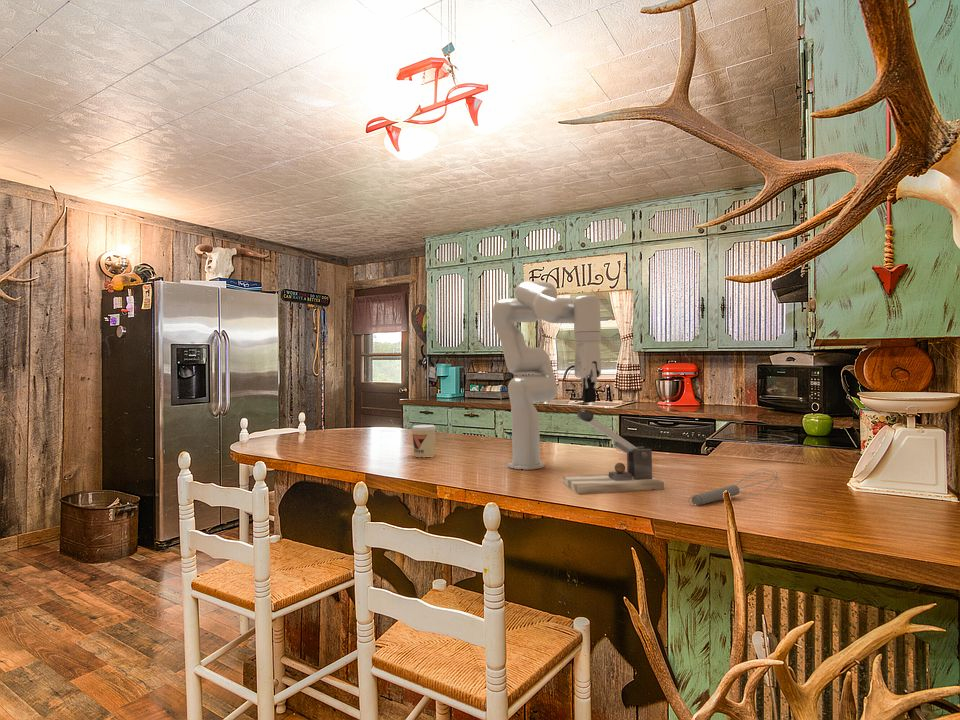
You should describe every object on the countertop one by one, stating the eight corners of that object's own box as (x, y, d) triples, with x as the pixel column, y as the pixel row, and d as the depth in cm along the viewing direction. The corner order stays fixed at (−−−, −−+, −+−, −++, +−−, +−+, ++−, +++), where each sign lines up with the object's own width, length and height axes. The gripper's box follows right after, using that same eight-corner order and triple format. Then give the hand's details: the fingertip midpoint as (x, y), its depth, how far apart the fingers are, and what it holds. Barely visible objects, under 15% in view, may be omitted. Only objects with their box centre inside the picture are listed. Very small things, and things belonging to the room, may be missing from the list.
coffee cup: (407, 457, 213) (406, 426, 213) (424, 453, 221) (424, 424, 221) (424, 459, 207) (423, 428, 207) (441, 455, 214) (440, 425, 214)
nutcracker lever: (573, 418, 159) (581, 406, 159) (635, 460, 162) (642, 448, 162) (579, 420, 154) (586, 408, 155) (642, 463, 157) (649, 451, 157)
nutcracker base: (563, 482, 163) (562, 447, 163) (642, 478, 167) (641, 444, 167) (578, 494, 149) (577, 455, 149) (664, 488, 153) (663, 451, 153)
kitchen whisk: (679, 504, 137) (679, 479, 137) (766, 488, 153) (766, 466, 153) (699, 510, 132) (698, 484, 132) (787, 493, 147) (787, 469, 147)
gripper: (567, 340, 164) (568, 401, 164) (583, 337, 149) (585, 404, 149) (591, 339, 165) (592, 400, 165) (609, 337, 150) (611, 403, 150)
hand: (589, 402), depth 157 cm, fingers closed
